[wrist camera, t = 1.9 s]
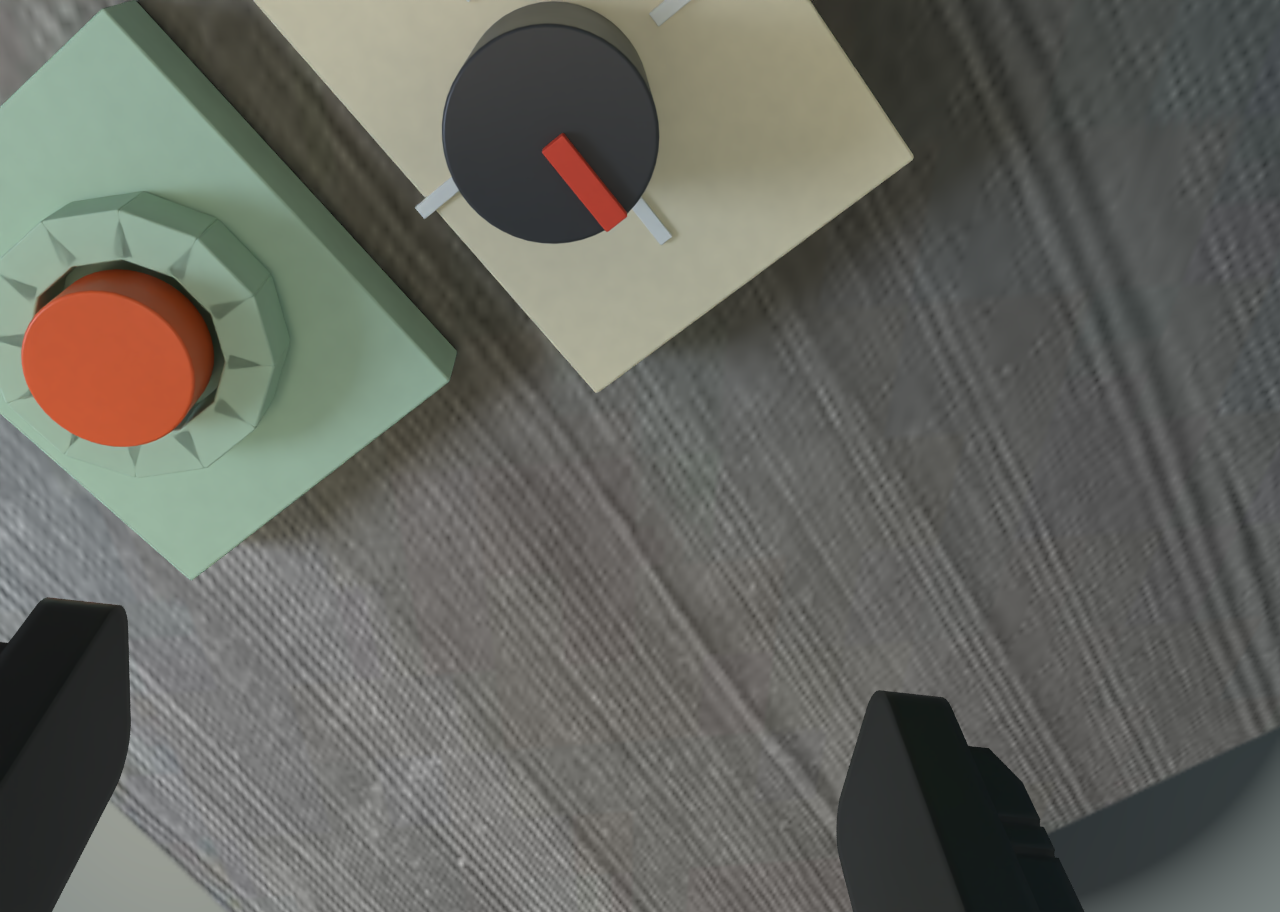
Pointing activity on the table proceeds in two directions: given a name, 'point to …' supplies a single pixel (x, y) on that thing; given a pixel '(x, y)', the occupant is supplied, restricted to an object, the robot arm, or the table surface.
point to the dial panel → (686, 163)
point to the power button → (118, 358)
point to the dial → (551, 124)
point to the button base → (198, 288)
